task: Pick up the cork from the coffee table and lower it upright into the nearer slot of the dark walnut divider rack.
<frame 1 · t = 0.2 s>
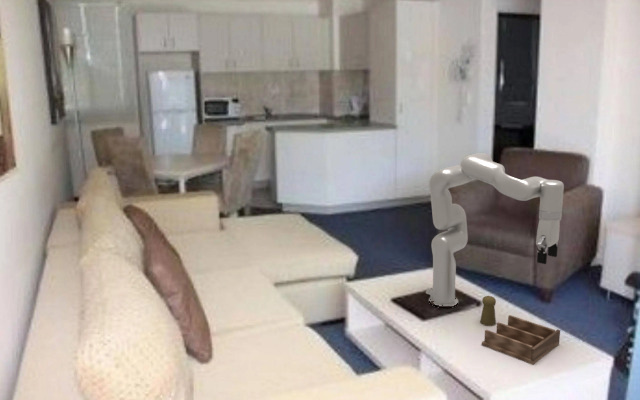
hand: (547, 259, 209), 31 cm above the table, tool pointing down, fingers open, 9 cm apart
slot rack: (520, 344, 210), on the table
cork: (487, 323, 229), on the table
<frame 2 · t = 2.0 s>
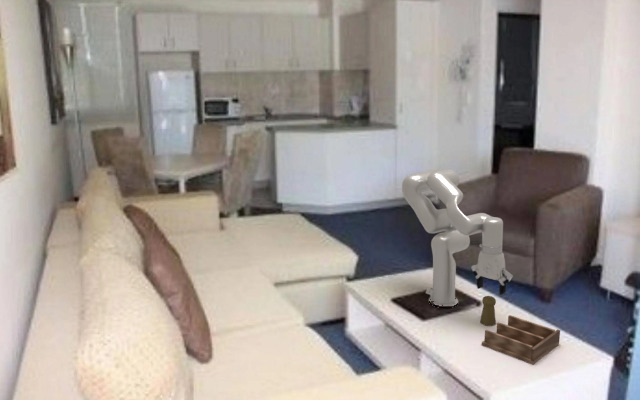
hand: (490, 290, 225), 14 cm above the table, tool pointing down, fingers open, 9 cm apart
nothing on the table moved.
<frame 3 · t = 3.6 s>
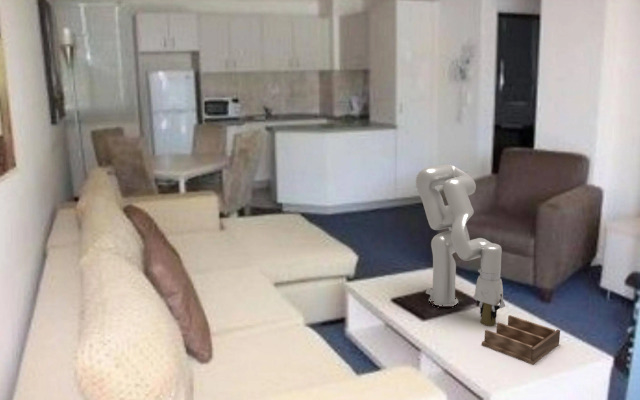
hand: (488, 317, 228), 2 cm above the table, tool pointing down, fingers closed on cork, 3 cm apart
cork: (488, 323, 228), on the table, touching gripper
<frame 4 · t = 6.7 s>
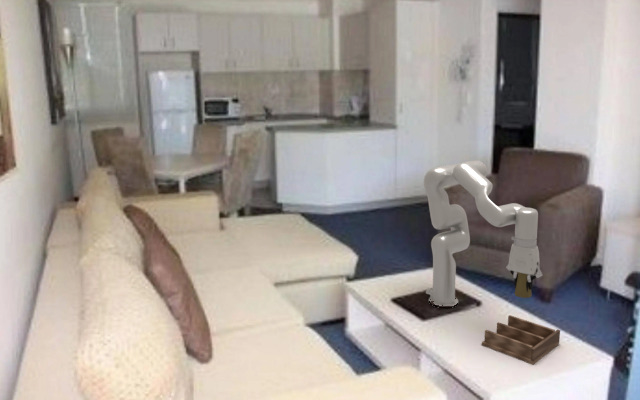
hand: (523, 288, 211), 20 cm above the table, tool pointing down, fingers closed on cork, 3 cm apart
cork: (522, 295, 211), point 17 cm above the table, touching gripper
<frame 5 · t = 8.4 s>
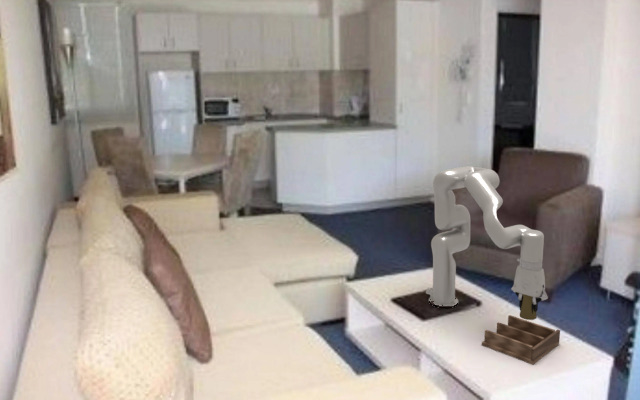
hand: (528, 310, 210), 12 cm above the table, tool pointing down, fingers closed on cork, 3 cm apart
cork: (528, 316, 211), point 10 cm above the table, touching gripper
when the fingers open (5 cm above the table, at t = 9.9 s): cork drops 2 cm, resting on slot rack.
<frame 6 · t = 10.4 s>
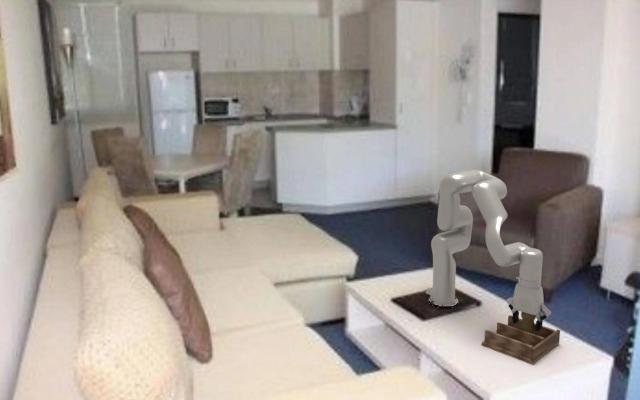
hand: (526, 325, 212), 6 cm above the table, tool pointing down, fingers open, 8 cm apart
cork: (526, 338, 213), point 1 cm above the table, touching slot rack
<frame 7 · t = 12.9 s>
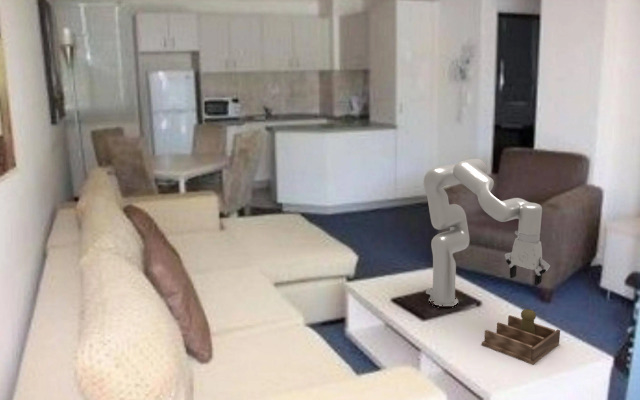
hand: (525, 280, 211), 23 cm above the table, tool pointing down, fingers open, 9 cm apart
nothing on the table moved.
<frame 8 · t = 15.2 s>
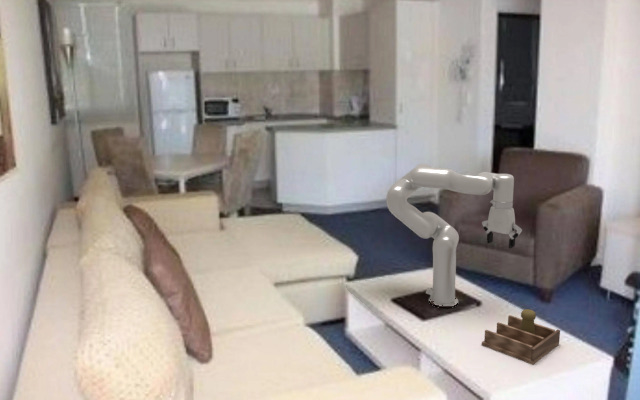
hand: (500, 245, 234), 28 cm above the table, tool pointing down, fingers open, 9 cm apart
nothing on the table moved.
at the end: cork inside the target area on the slot rack (0.3 cm from its centre), point 1.0 cm above the slot rack's base; cork tilted 0°; the gripper is holding nothing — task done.
